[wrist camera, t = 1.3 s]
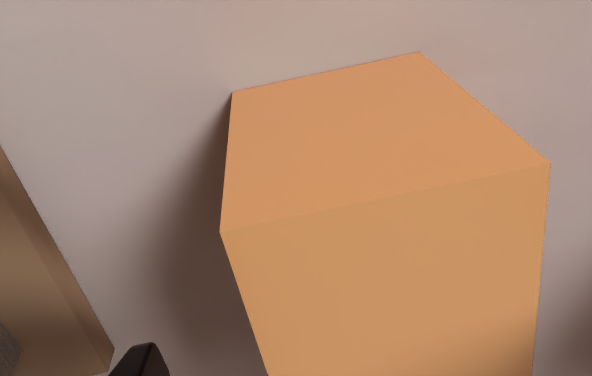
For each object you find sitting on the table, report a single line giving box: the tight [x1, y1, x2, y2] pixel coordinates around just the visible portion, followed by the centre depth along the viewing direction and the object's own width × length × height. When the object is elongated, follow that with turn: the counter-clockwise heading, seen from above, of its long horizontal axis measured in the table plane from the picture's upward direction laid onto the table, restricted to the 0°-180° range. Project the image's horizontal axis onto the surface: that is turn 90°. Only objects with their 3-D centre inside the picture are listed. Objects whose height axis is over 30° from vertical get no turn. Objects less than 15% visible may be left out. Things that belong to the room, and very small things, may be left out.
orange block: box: [220, 52, 551, 376], centre depth 12 cm, size 5×5×7 cm
